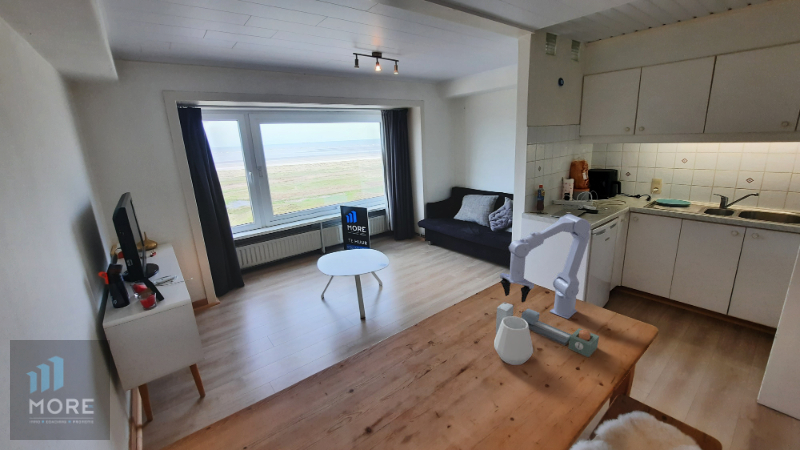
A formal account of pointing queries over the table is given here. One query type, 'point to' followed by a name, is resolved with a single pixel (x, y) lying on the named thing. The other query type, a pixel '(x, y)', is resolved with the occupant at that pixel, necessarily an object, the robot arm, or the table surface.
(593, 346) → the cabinet
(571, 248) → the robot arm
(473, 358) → the table surface
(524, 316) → the carriage
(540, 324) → the rail base
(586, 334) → the button
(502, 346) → the cup
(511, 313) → the skincare box
